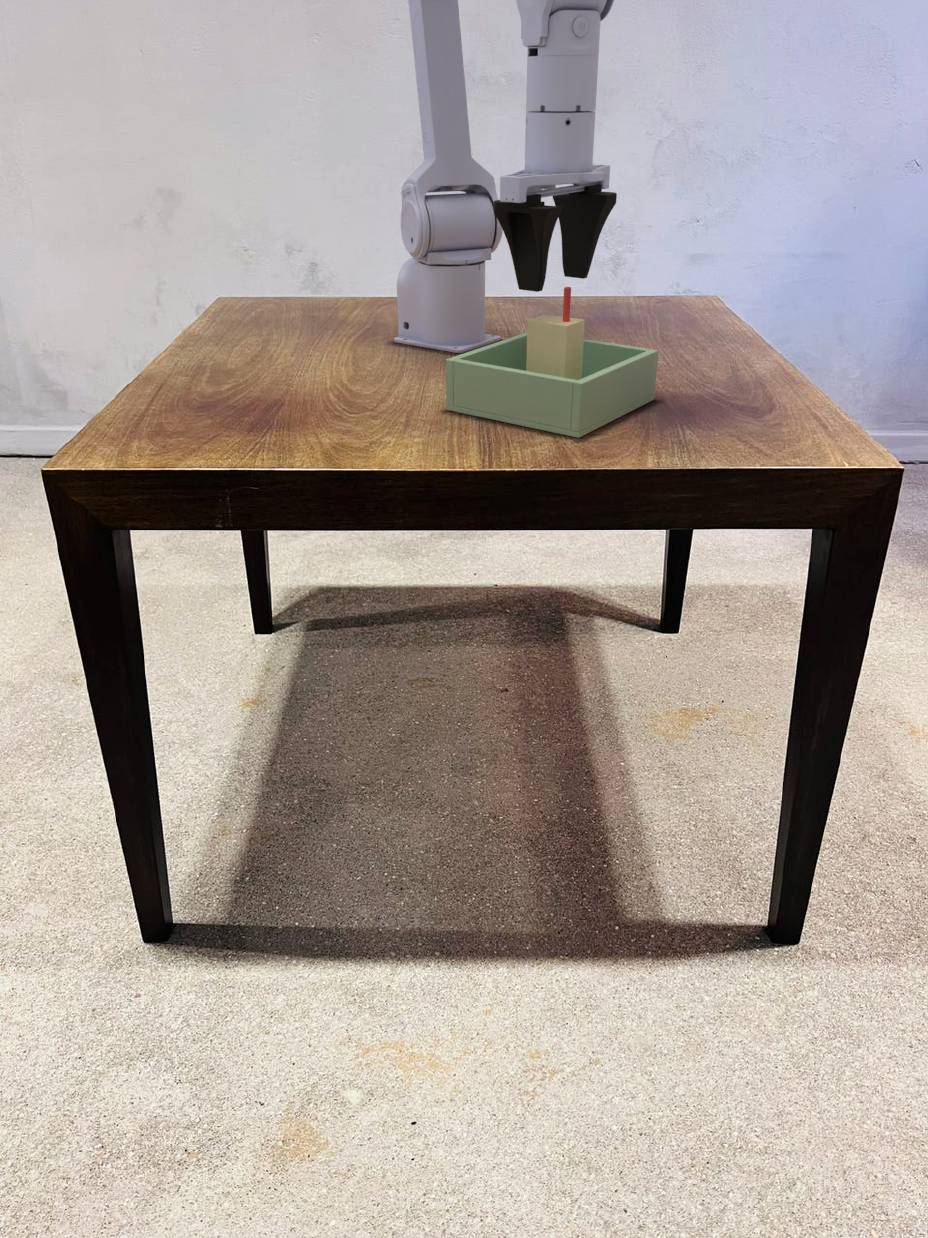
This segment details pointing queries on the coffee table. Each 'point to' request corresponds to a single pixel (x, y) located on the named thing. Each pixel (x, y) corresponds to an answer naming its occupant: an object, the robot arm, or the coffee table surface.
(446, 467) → the coffee table surface
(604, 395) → the bin
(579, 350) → the juice box
